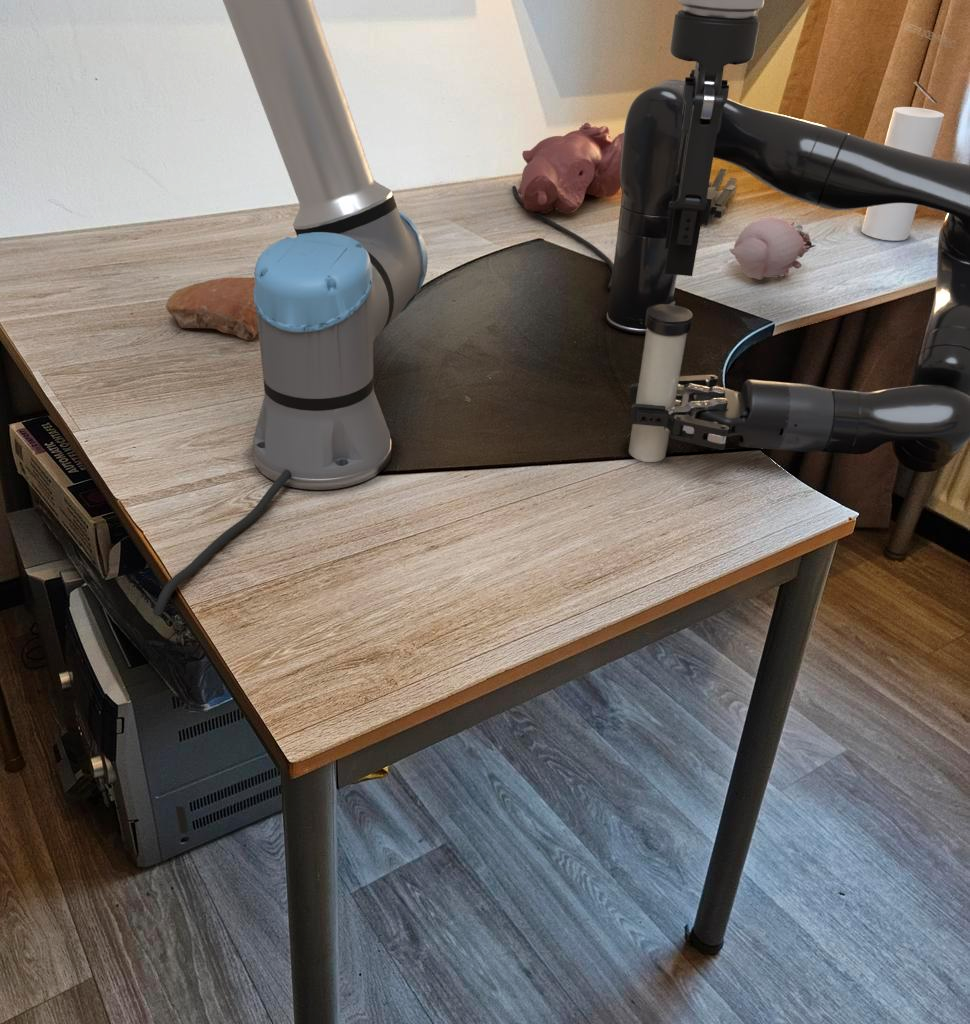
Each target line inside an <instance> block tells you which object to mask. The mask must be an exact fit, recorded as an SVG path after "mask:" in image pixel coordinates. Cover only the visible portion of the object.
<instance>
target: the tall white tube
mask: <svg viewBox="0 0 970 1024" xmlns="http://www.w3.org/2000/svg"><path fill="white" fill-rule="evenodd" d="M904 30H905V31H907V32H910V33H912V32H913V34H915V33H916V34H917V35H918V36H921V37H923V38H924V37H925V39H928V40H930V41H931V40H932V41H933V42H937V40H938V44H939V43H940V44H942V45H943V46H946V47H947V48H948V47H949V49H950V48H951V49H952V50H953V49H954V48H955V45H956V40H954V39H951V38H948V37H946V36H942V37H941V34H938V35H937V33H934V32H933V31H931V30H926V29H923V34H921V31H922V27H920V26H918V25H915V24H912V23H909V22H908V21H907V22H905V26H904ZM927 33H928V35H927ZM940 37H941V38H940ZM940 39H941V42H940ZM945 39H946V40H945ZM944 42H945V43H944ZM952 43H954V44H953V46H952ZM913 84H914V85H915V86H916V87H917V88H919V90H920V91H921V92H922V95H923V96H924V97H926V98H928V99H929V100H930V101H931V102H932V103H934V104H937V103H938V101H937V100H936V99H935V98H934V97H932V95H931V94H930V93H929V92H928V91H927V90H926V89H925V88H924V87H923V86H922V85H921V84H920V83H919V82H918V81H915V80H914V82H913ZM944 117H945V114H944V113H943V112H940V111H937V110H936V109H935V110H934V109H929V108H924V107H915V106H914V107H913V106H897V107H894V108H893V110H892V114H891V118H890V122H889V126H888V129H887V133H886V137H885V140H884V144H883V145H886V146H890V147H893V148H897V149H901V150H904V151H908V152H911V153H915V154H919V155H923V156H927V157H932V158H933V155H934V151H935V148H936V145H937V142H938V141H937V140H938V138H939V134H940V130H941V127H942V124H943V121H944ZM918 206H919V205H916V204H908V203H893V204H885V205H878V206H872V207H866V212H865V215H864V220H863V222H862V227H861V232H862V233H863V234H864V235H866V236H868V237H871V238H873V239H878V240H884V241H893V242H895V241H897V242H898V241H899V242H900V241H905V240H907V239H909V236H910V233H911V229H912V226H913V222H914V219H915V215H916V211H917V210H918V209H917V208H918Z"/></svg>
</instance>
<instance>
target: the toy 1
mask: <svg viewBox="0 0 970 1024" xmlns="http://www.w3.org/2000/svg"><path fill="white" fill-rule="evenodd" d="M727 171H728V170H727V169H726V168H720V169H719V171H718V173H717V175H716V177H715V178H714V180H713V182H710V181H709V186H708V192H707V199H706V200H707V206H706V208H705V209H704V210H703V216H702V222H701V225H706V226H707V225H709V223H711V221H712V220H713V218H716V219H722V217H723V216H724V215H725V212H726V204H727V203H728V201H729V199H730V198H731V197H732V196H734V195H735V194H736V193H737V188H738V185H736V182H737V177H732V176H731V177H730V178H729V179H728V180H727V182H726V183H725V185H724V187H723V188H722V190H719V189H720V188H721V186H722V184H723V181H724V180H725V178H726V176H727Z"/></svg>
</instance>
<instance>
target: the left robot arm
mask: <svg viewBox="0 0 970 1024" xmlns="http://www.w3.org/2000/svg"><path fill="white" fill-rule="evenodd" d="M222 2H223V5H224V7H225V10H226V13H227V16H228V17H229V20H230V23H231V26H232V29H233V31H234V35H235V36H236V39H237V42H238V44H239V48H240V50H241V53H242V55H243V57H244V60H245V63H246V66H247V69H248V71H249V74H250V76H251V80H252V81H253V84H254V87H255V89H256V92H257V96H258V97H259V100H260V103H261V106H262V108H263V110H264V114H265V116H266V119H267V121H268V124H269V126H270V129H271V132H272V134H273V137H274V140H275V142H276V145H277V148H278V150H279V153H280V156H281V158H282V161H283V164H284V166H285V169H286V172H287V174H288V178H289V180H290V183H291V185H292V187H293V190H294V193H295V196H296V197H297V198H296V199H297V201H298V205H299V208H298V209H297V213H296V215H295V217H294V219H293V223H292V227H293V229H294V232H295V235H296V237H289V236H287V237H285V238H281V239H280V240H278V241H275V242H274V243H272V244H271V245H269V246H268V247H267V248H265V249H264V251H262V253H261V254H260V255H259V256H258V258H257V261H256V263H255V267H254V278H255V286H254V303H255V306H256V312H257V321H258V331H259V332H258V340H259V349H260V359H261V369H262V378H263V388H264V390H263V391H264V396H263V400H262V404H261V408H260V412H259V415H258V419H257V423H256V427H255V430H254V434H253V439H252V441H253V442H252V455H253V460H254V464H255V467H256V468H257V470H258V471H259V472H260V473H261V474H262V475H263V476H265V477H266V478H268V479H269V480H271V481H273V484H272V485H271V486H270V487H269V488H268V489H267V491H266V492H265V493H264V495H263V496H262V497H261V499H260V500H259V502H257V504H256V506H254V508H253V509H252V510H251V511H250V512H249V513H248V514H247V515H246V516H244V517H243V518H242V519H241V520H239V521H238V522H236V523H235V524H233V525H232V526H230V527H229V528H228V529H227V530H225V531H224V532H223V533H222V534H220V535H219V536H218V537H217V538H216V539H214V540H213V541H212V542H211V543H210V544H209V545H208V546H207V547H206V548H205V549H203V551H201V553H200V554H198V555H197V557H196V558H195V559H193V560H192V561H191V562H190V563H189V564H188V565H187V566H185V568H183V569H182V570H181V571H179V572H177V574H175V575H174V576H173V577H171V578H170V580H168V582H167V583H166V584H165V585H164V587H163V588H162V590H161V591H160V593H159V595H158V598H157V599H156V603H155V605H154V608H153V612H152V613H153V615H154V616H155V617H157V616H159V617H160V616H161V615H163V614H164V613H165V611H166V608H167V606H168V603H169V601H170V598H171V596H172V595H173V594H174V591H175V590H176V589H177V588H178V586H180V585H181V584H183V582H185V581H186V580H188V579H189V578H190V577H192V576H193V575H194V574H196V572H197V571H198V570H199V569H200V568H201V567H202V566H203V565H204V564H205V563H206V562H207V561H208V560H209V559H210V558H211V557H213V555H214V554H215V553H216V552H217V551H218V550H220V549H221V548H222V547H223V546H224V545H225V544H227V542H229V541H231V539H232V538H234V537H235V536H236V535H238V534H239V533H241V532H242V531H244V530H245V529H246V528H247V527H249V526H250V525H251V524H252V523H254V522H255V521H256V520H257V519H258V518H259V517H260V515H262V513H263V512H264V511H265V510H266V509H267V507H268V506H269V505H270V503H271V502H272V500H273V499H274V498H275V496H276V495H277V494H278V492H279V491H280V490H281V489H282V488H283V486H286V487H290V488H295V489H301V490H312V491H314V490H315V491H323V490H327V491H328V490H337V489H342V488H348V487H351V486H355V485H358V484H361V483H363V482H366V481H368V480H370V479H373V478H374V477H375V476H377V475H378V474H380V473H381V472H382V471H383V470H384V469H385V468H386V467H387V466H388V464H389V463H390V461H391V458H392V438H391V432H390V430H391V427H390V426H389V424H388V422H387V420H386V419H385V417H384V413H383V411H382V408H381V406H380V403H379V400H378V398H377V395H376V393H375V385H374V343H375V340H376V338H377V337H378V336H379V335H380V334H381V333H383V331H384V330H385V329H386V328H387V327H388V326H389V325H390V324H391V323H392V322H393V321H394V320H395V319H396V318H397V317H398V316H399V315H400V314H401V313H403V312H404V311H405V310H407V309H408V308H409V307H410V306H411V304H412V303H413V302H414V301H415V299H416V297H417V295H418V294H419V291H420V290H421V288H422V287H423V284H424V281H425V279H426V276H427V271H428V251H427V246H426V243H425V240H424V237H423V235H422V233H421V231H420V230H419V228H418V227H417V225H416V224H415V222H413V221H412V219H411V218H409V217H408V218H406V217H405V216H404V215H403V214H402V213H401V212H400V211H398V209H399V208H398V205H397V202H396V199H395V197H394V194H393V192H392V189H390V188H388V187H386V186H385V185H382V184H381V183H379V182H378V181H376V179H374V176H373V174H372V171H371V167H370V165H369V162H368V159H367V156H366V153H365V150H364V147H363V144H362V141H361V139H360V136H359V133H358V130H357V129H358V128H357V127H356V124H355V120H354V118H353V114H352V112H351V109H350V106H349V103H348V100H347V97H346V94H345V91H344V88H343V85H342V82H341V79H340V76H339V74H338V71H337V68H336V64H335V62H334V59H333V56H332V53H331V50H330V47H329V44H328V41H327V38H326V35H325V32H324V30H323V29H324V28H323V26H322V24H321V20H320V17H319V14H318V11H317V9H316V6H315V3H314V0H222ZM677 2H678V3H679V4H680V5H681V6H683V9H680V10H678V11H677V14H676V13H675V15H674V22H673V28H672V35H671V42H670V54H671V55H672V56H673V57H674V58H677V59H679V60H682V61H685V62H695V66H694V67H695V68H694V69H691V71H690V72H689V77H688V76H684V77H685V78H684V80H685V83H684V90H683V97H684V105H683V111H682V123H683V126H682V130H683V132H682V139H681V145H680V151H679V158H678V162H677V163H676V169H677V173H676V175H675V179H676V182H679V183H680V185H679V184H674V190H673V197H672V201H670V202H669V209H671V210H670V217H669V223H668V230H667V236H666V243H665V249H668V253H667V260H666V266H665V274H674V275H677V276H683V277H693V274H694V267H695V262H696V256H697V251H698V244H699V238H700V233H701V227H702V224H701V222H702V216H703V210H704V209H705V208H706V206H707V200H706V199H707V192H708V186H709V182H710V181H711V173H712V166H713V162H714V158H713V156H714V149H715V143H716V137H717V134H718V133H719V131H720V127H721V120H722V114H723V107H724V105H725V104H726V102H727V99H729V98H728V97H729V90H730V85H729V84H728V83H729V82H728V79H723V78H724V77H723V76H724V67H725V66H727V65H735V66H736V65H744V64H747V63H749V62H750V61H752V60H753V58H754V55H755V50H756V44H757V39H758V38H757V37H758V33H759V29H760V28H759V27H760V23H761V22H760V20H759V17H758V16H756V12H758V11H761V9H762V8H764V5H765V0H677ZM174 808H175V811H176V812H175V814H176V817H177V818H176V819H177V825H178V830H179V833H180V834H186V833H188V832H189V824H188V818H187V812H186V807H185V806H178V805H175V806H174Z"/></svg>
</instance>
